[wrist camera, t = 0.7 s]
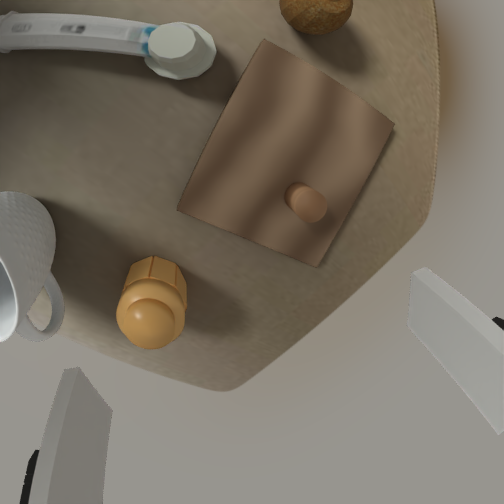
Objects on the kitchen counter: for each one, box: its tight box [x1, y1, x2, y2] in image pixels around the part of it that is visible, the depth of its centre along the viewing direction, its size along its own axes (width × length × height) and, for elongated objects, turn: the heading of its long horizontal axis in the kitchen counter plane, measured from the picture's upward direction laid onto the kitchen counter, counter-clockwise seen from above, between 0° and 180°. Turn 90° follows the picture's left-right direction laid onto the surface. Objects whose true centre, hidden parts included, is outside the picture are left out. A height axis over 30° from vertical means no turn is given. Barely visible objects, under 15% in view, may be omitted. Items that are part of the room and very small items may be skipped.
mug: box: [0, 191, 65, 343], centre depth 23 cm, size 15×11×13 cm
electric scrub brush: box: [0, 11, 217, 80], centre depth 20 cm, size 5×7×25 cm
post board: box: [177, 39, 395, 268], centre depth 28 cm, size 16×18×6 cm
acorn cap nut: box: [116, 256, 187, 349], centre depth 30 cm, size 6×6×8 cm
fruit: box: [280, 0, 353, 34], centre depth 21 cm, size 6×6×8 cm
